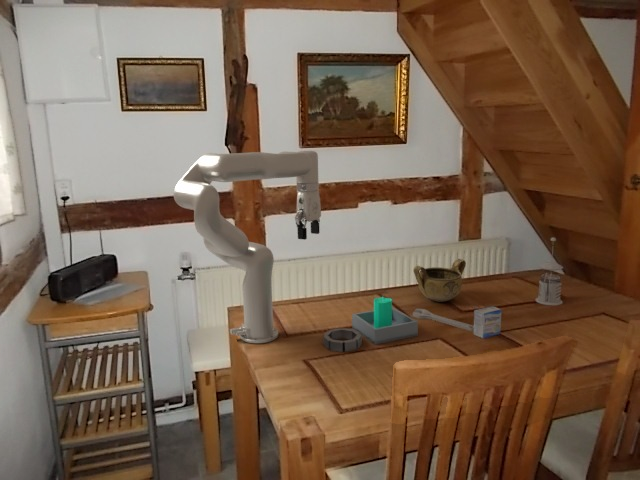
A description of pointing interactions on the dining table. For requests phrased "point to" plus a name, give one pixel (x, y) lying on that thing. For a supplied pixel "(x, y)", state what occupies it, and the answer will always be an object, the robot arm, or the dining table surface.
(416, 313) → the adjustable wrench
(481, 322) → the medicine box
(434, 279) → the ceramic bowl
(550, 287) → the french press
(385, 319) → the candle
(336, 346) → the collar
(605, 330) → the dining table surface
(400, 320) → the bin
